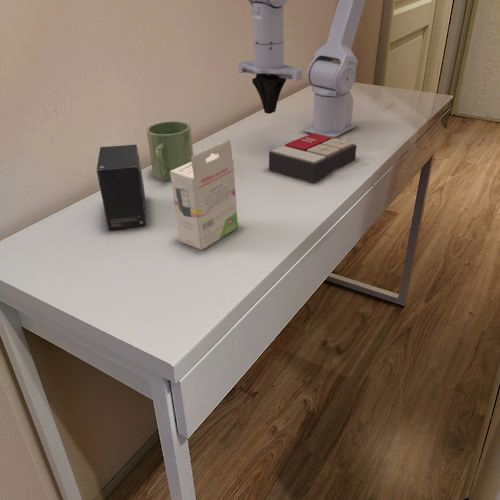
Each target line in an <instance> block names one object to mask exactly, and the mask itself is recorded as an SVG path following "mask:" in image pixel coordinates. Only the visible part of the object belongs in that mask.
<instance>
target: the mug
mask: <svg viewBox="0 0 500 500" xmlns="http://www.w3.org/2000/svg"><path fill="white" fill-rule="evenodd" d="M146 135H147V143H148V149H149V155H150V162H151V171H152V175H153V176H154V178H156V179H157V180H160V181H171V175H170V171H171V170H174V169H176V168H178V167H180V166H183V165H185V164H187V163H189V162H191V158H192V156H193V155H194V148H193V138H192V128H191V125H190V124H189V123H187V122H185V121H177V120H171V121H161V122H157V123H154V124H151V125H149V126H148V127H147V128H146Z"/></svg>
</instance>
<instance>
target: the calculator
mask: <svg viewBox="0 0 500 500" xmlns="http://www.w3.org/2000/svg"><path fill="white" fill-rule="evenodd" d="M354 143H355V142H353V141H349V140H345V139H340V138H337V137H335V138H332V137H327V136H323V135H318V134H314V133H310V134H307V135H304V136H302V137H299V138H297V139H295V140H294V139H293V140H292V141H290V142H287V143H285V144H284V145H282V146H279V147H276V148H274V149H272V150H271V151H269V152H268V170H270V171H273V172H276V173H279V174H283V175H286V176H289V177H293V178H297V179H299V180H304V181H307V182H310V183H316V182H319V181H320V180H323V179H324V178H326V177H327V175H328V173H330V172H333V171H334V170H336V169H338V168H340V167H342V166H345V165H346V164H348V163H350V162H352V161H354V160H356V153H357V144H354Z"/></svg>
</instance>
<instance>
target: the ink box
mask: <svg viewBox="0 0 500 500" xmlns="http://www.w3.org/2000/svg"><path fill="white" fill-rule="evenodd" d="M231 142H232V141H231V139H229V138H227V140H225V141H223V142H220V143H217V144H215V145H213V146H210V147H208V148H206V149H204V150H202V151H201V152H198V153H195V154H193V156H192V158H191V162H189V163H187V164H185V165H183V166H180V167H178V168H176V169H174V170H171V171H170V175H171V180H170V181H171V190H172V195H173V202H174V211H175V216H176V224H177V231H178V237H179V242H180V243H183V244H185V245H188V246H190V247H193V248H195V249H197V250H201V251H203V250H205V249H207V248H208V247H209V246H211V245H213V244H215V243H216V242H218V241H219V240H221V239H223V238H224V237H226V236H227V235H229V234H231V233H232V232H234V231H235V230H237V229H238V227H239V223H238V210H237V196H236V182H235V181H236V180H235V166H234V159H233V151H232V143H231Z"/></svg>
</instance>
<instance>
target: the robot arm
mask: <svg viewBox="0 0 500 500" xmlns="http://www.w3.org/2000/svg"><path fill="white" fill-rule="evenodd" d="M247 1H248V3H249V5H250V13H251V14H252V28H253V55H254V56H253V59H254V61H245V60H244V61H241V62H238V63H237V65H238V73H239V74H244V73H246V74H252V75H255V77H253V78H251V79H252V80H251V81H252V84H253V86H254V87H255V89H256V91H257V93H258V96H259V98H260V101H261V104H262V108H263V111H264V114H267V115H271V114H272V113H275V112H276V109H277V105H278V101H279V97H280V94H281V91H282V89H283V87H284V85H285V84H286V82H287V80H291V81H292V82H298V81H301V80H303V68H299V67H294V66H291V65H289V64H285V63H284V62H285V61H284V60H285V58H284V57H285V56H284V55H285V54H284V53H285V52H284V47H285V46H284V44H285V43H284V5H286V4H287V3H288V1H289V0H247ZM365 3H366V0H338V2H337V5H336V9H335V12H334V16H333V20H332V23H331V26H330V31H329V34H328V37H327V40H326V43H325V44H324V45H323V46H321V47H320V48H318V49H317V50H316V51H315V54H314V57H313V59H312V61H311V62H310V64H309V66H308V68H307V72H306V79H307V82H308V85H309V86H311V91H312V92H313V118H312V119H313V120H312V126H310V127H308V128H306V129H305V133H310V134H312V133H314V134H318V135H323V136H327V137H331V139H333V138H337V137H338V136H341V135H342V134H344V133H346V132H348V131H350V130H352V129H354V128H355V127H356V126H355V125H356V124H353V123H352V121H353V109H354V98H353V97H354V96H353V95H352V93H351V90H352V89H353V86H355V82H356V76H357V72H356V71H357V66H358V62H359V60H358V59H357V57H356V56H355V54H354V53H353V51H352V47H353V43H354V40H355V36H356V33H357V31H358V27H359V24H360V20H361V17H362V15H363V14H362V13H363V10H364V7H365Z"/></svg>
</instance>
